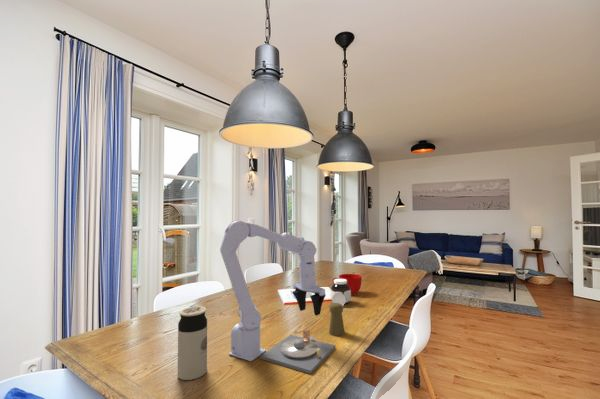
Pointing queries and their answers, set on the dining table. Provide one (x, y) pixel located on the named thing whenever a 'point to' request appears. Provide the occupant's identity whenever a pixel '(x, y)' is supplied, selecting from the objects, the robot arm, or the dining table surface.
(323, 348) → the turntable base
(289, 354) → the flange plate
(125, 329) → the dining table surface
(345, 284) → the spread jar
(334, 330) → the cork
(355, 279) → the ceramic cup
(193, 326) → the travel mug
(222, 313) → the dining table surface
